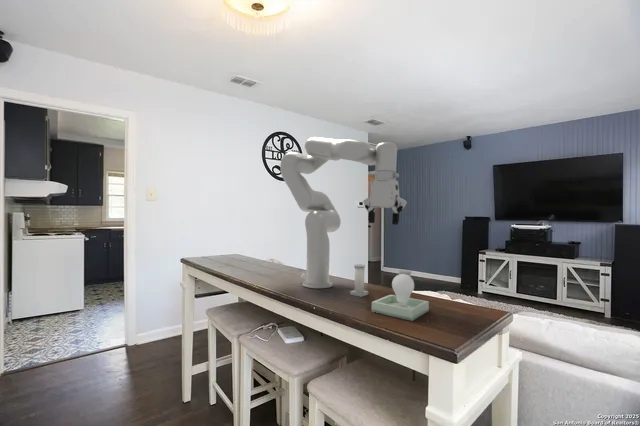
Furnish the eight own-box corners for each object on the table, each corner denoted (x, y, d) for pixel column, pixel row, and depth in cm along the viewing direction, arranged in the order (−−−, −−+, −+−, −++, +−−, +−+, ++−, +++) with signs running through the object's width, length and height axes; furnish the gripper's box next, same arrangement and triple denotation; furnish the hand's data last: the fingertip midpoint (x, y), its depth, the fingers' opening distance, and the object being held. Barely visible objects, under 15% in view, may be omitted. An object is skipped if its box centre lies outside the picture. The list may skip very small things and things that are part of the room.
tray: (371, 311, 98) (371, 301, 98) (390, 303, 108) (390, 294, 108) (412, 321, 90) (412, 310, 90) (428, 310, 100) (428, 301, 100)
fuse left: (349, 294, 120) (350, 265, 120) (357, 292, 124) (357, 263, 124) (361, 296, 117) (362, 266, 117) (368, 294, 120) (368, 265, 121)
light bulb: (389, 311, 96) (390, 274, 96) (392, 305, 102) (393, 271, 102) (412, 314, 94) (413, 277, 94) (414, 308, 100) (415, 273, 100)
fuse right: (394, 303, 108) (395, 271, 109) (400, 300, 112) (401, 269, 112) (408, 306, 105) (409, 272, 105) (414, 303, 109) (415, 271, 109)
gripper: (411, 177, 114) (409, 225, 114) (370, 178, 125) (368, 222, 125) (402, 175, 108) (400, 225, 109) (359, 176, 120) (357, 222, 120)
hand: (383, 223), depth 117 cm, fingers open, 9 cm apart
